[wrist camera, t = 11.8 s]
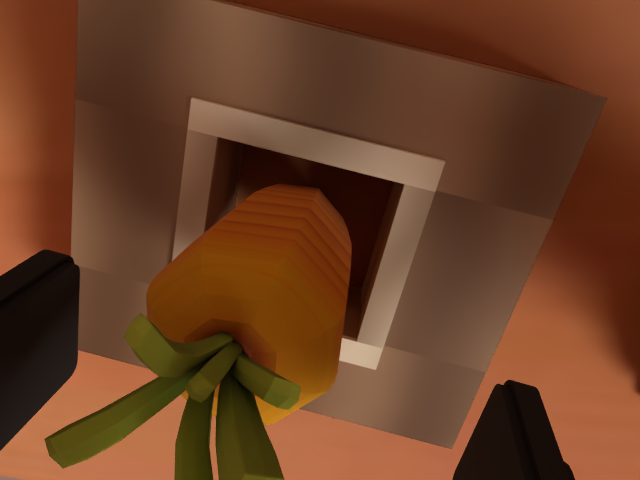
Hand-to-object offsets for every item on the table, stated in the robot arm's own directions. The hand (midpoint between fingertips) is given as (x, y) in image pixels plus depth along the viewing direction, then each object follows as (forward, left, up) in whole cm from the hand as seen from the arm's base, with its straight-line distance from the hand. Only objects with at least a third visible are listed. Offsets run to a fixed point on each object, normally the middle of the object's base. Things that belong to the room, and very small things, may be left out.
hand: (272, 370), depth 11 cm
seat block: (+1, 0, -11) cm, 11 cm away
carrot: (+1, 0, -11) cm, 11 cm away
